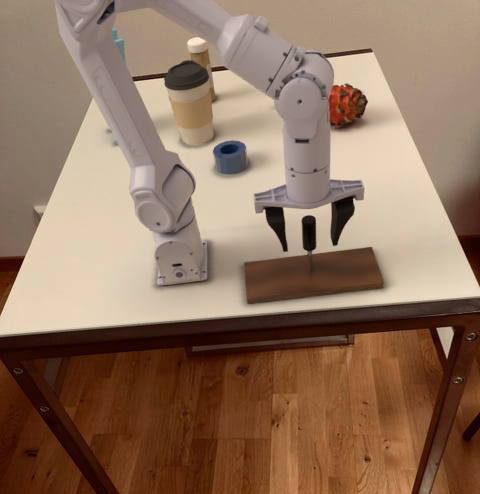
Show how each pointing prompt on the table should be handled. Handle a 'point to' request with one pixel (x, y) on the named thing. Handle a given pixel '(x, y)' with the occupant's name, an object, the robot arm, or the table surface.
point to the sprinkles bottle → (202, 59)
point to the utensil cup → (230, 157)
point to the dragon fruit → (346, 104)
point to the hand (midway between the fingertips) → (309, 244)
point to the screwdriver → (309, 237)
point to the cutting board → (312, 275)
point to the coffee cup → (191, 101)
